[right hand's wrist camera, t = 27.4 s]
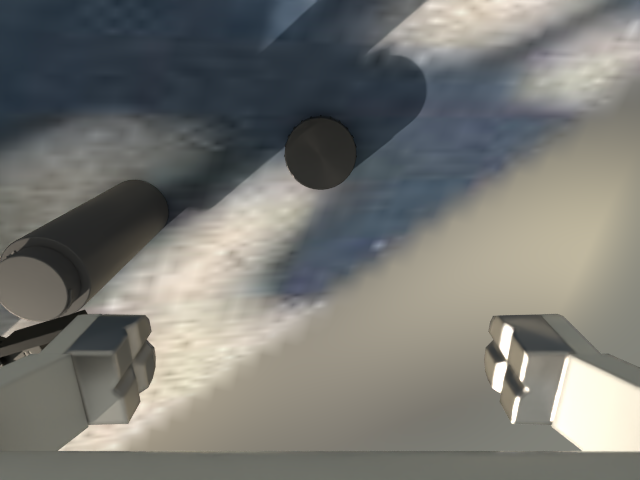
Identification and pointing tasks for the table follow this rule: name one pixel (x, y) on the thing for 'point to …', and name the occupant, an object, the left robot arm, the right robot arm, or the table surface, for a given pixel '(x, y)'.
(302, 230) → the table surface
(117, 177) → the table surface
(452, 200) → the table surface
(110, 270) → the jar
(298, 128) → the lid
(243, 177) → the table surface
